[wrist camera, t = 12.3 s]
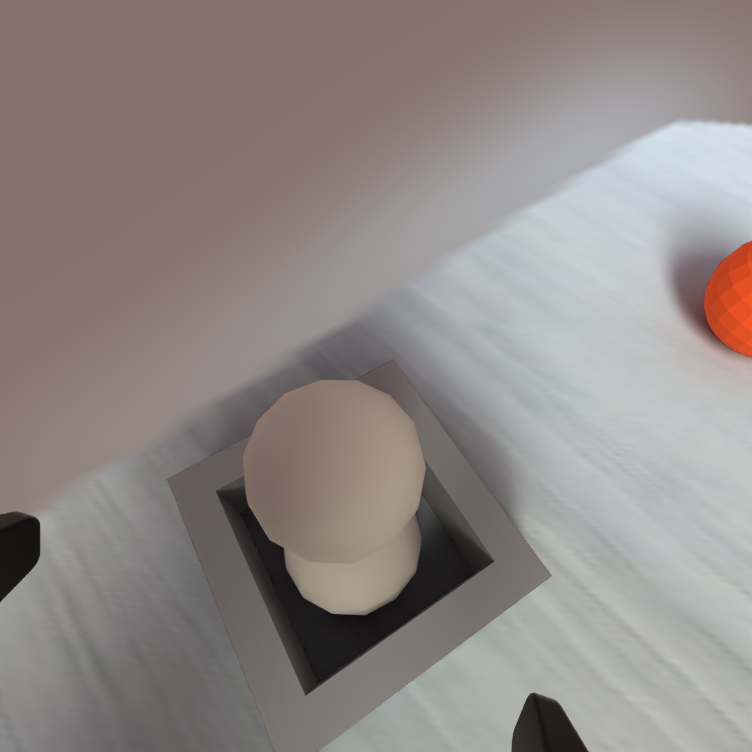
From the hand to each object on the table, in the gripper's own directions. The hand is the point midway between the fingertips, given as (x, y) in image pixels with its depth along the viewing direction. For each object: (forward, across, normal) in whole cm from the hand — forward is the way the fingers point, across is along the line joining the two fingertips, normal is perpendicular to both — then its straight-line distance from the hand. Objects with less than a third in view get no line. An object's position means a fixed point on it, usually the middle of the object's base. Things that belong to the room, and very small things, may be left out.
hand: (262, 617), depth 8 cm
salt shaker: (+12, 0, +7) cm, 14 cm away
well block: (+12, 0, +7) cm, 14 cm away
